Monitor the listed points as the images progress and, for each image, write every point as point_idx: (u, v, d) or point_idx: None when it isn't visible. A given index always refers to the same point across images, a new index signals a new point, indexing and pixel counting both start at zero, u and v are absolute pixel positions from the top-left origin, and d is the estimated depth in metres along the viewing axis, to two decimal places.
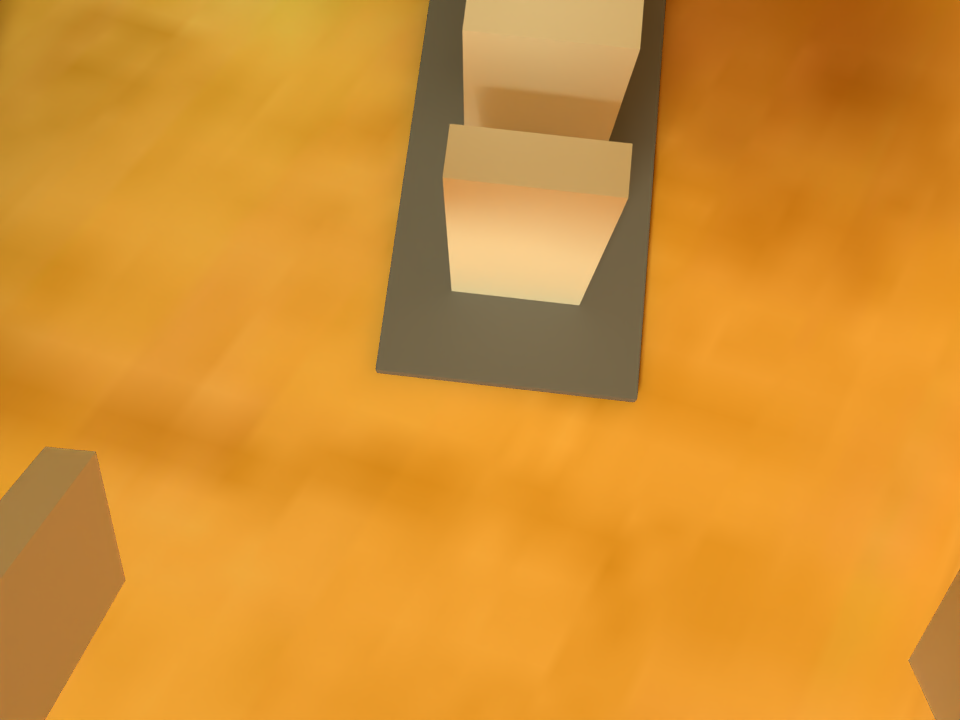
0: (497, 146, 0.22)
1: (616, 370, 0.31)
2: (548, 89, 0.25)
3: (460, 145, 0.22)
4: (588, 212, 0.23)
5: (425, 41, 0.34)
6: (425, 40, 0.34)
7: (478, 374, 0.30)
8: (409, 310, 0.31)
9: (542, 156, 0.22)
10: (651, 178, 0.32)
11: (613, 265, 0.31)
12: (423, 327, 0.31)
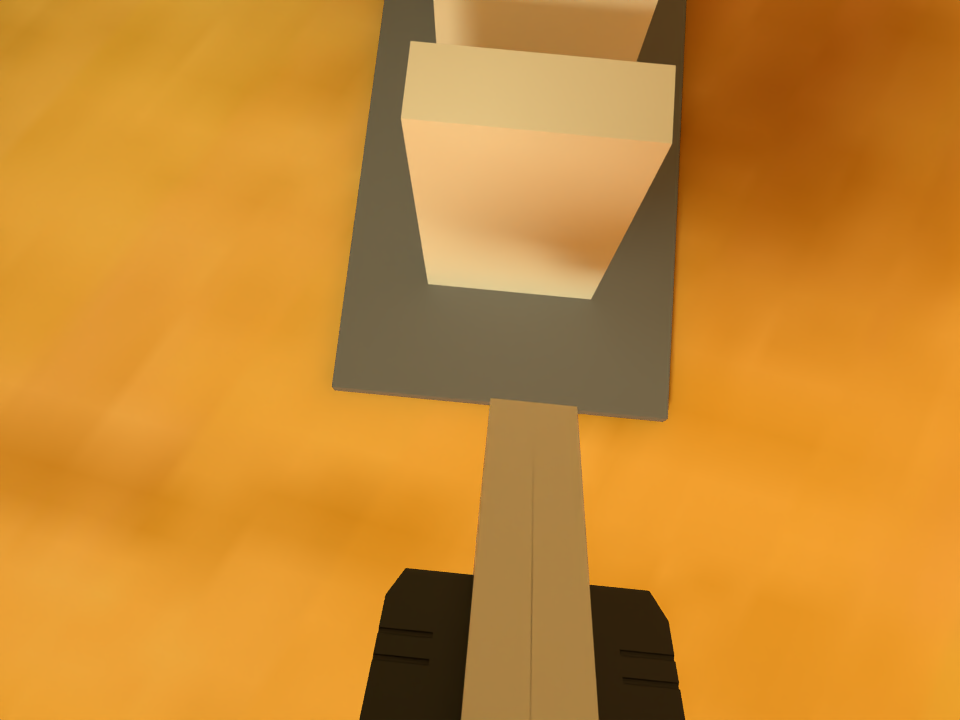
0: (480, 72, 0.15)
1: (640, 382, 0.24)
2: (549, 4, 0.18)
3: (426, 71, 0.15)
4: (611, 168, 0.16)
5: None
6: None
7: (464, 390, 0.24)
8: (374, 309, 0.24)
9: (545, 85, 0.15)
10: (678, 137, 0.26)
11: (633, 247, 0.25)
12: (392, 331, 0.24)
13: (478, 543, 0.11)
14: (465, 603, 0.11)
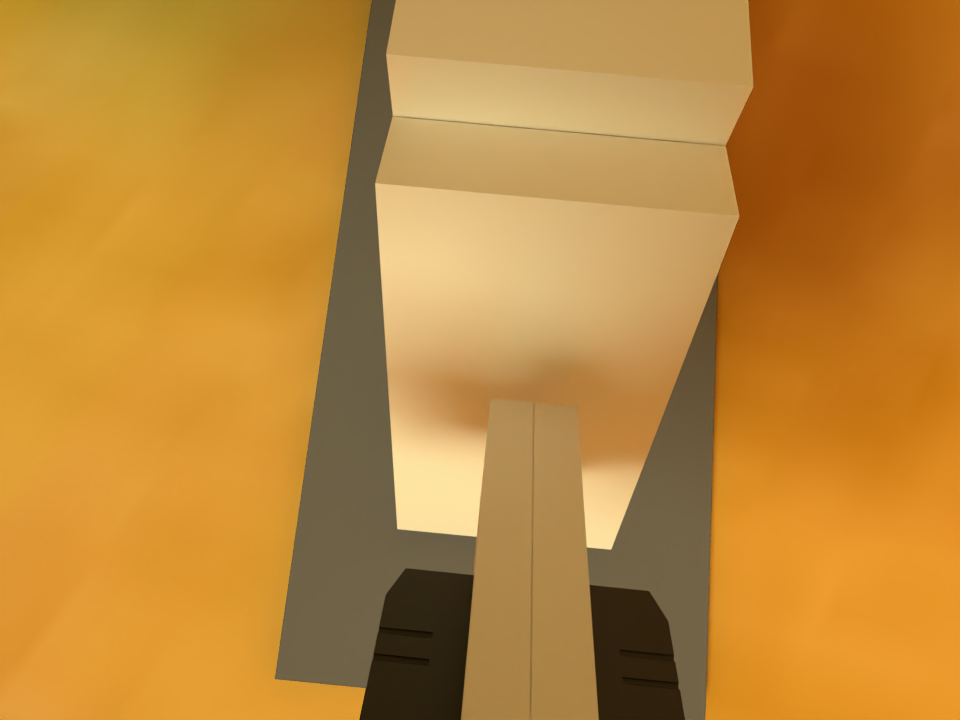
0: (480, 145, 0.12)
1: None
2: None
3: (411, 142, 0.12)
4: (653, 274, 0.12)
5: (356, 126, 0.22)
6: (356, 125, 0.22)
7: None
8: (330, 573, 0.19)
9: (565, 159, 0.12)
10: (713, 340, 0.20)
11: (658, 487, 0.20)
12: (353, 602, 0.19)
13: (478, 543, 0.11)
14: (465, 603, 0.11)
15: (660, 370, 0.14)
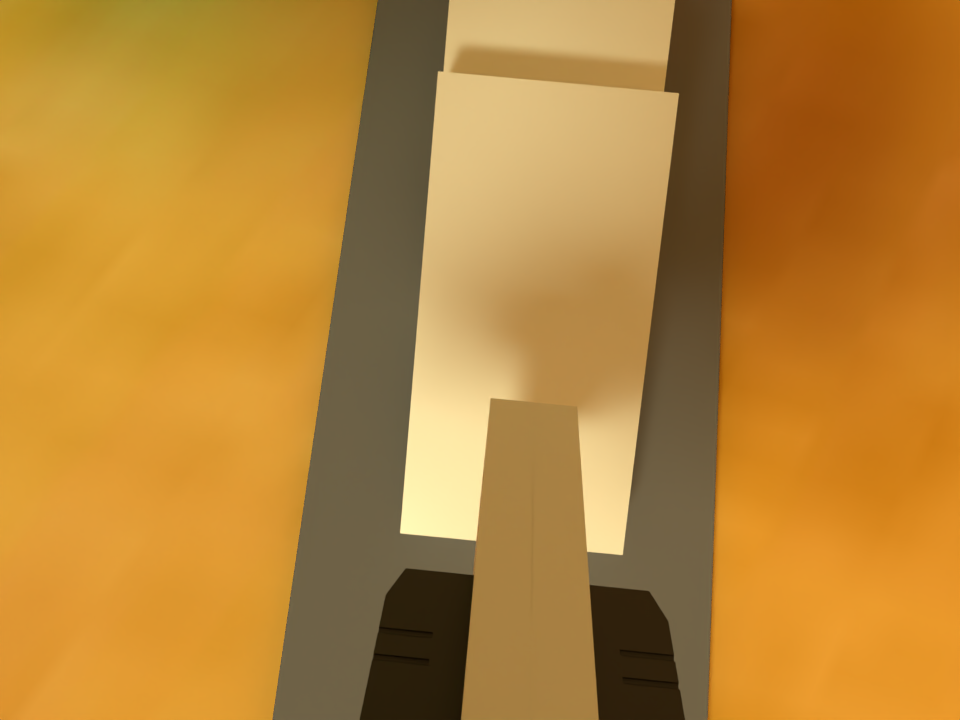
0: None
1: None
2: (567, 7, 0.18)
3: None
4: (628, 149, 0.17)
5: (355, 173, 0.21)
6: (355, 172, 0.21)
7: None
8: (326, 633, 0.19)
9: None
10: (716, 396, 0.20)
11: (659, 547, 0.19)
12: (349, 663, 0.19)
13: (478, 543, 0.11)
14: (465, 603, 0.11)
15: (643, 257, 0.17)
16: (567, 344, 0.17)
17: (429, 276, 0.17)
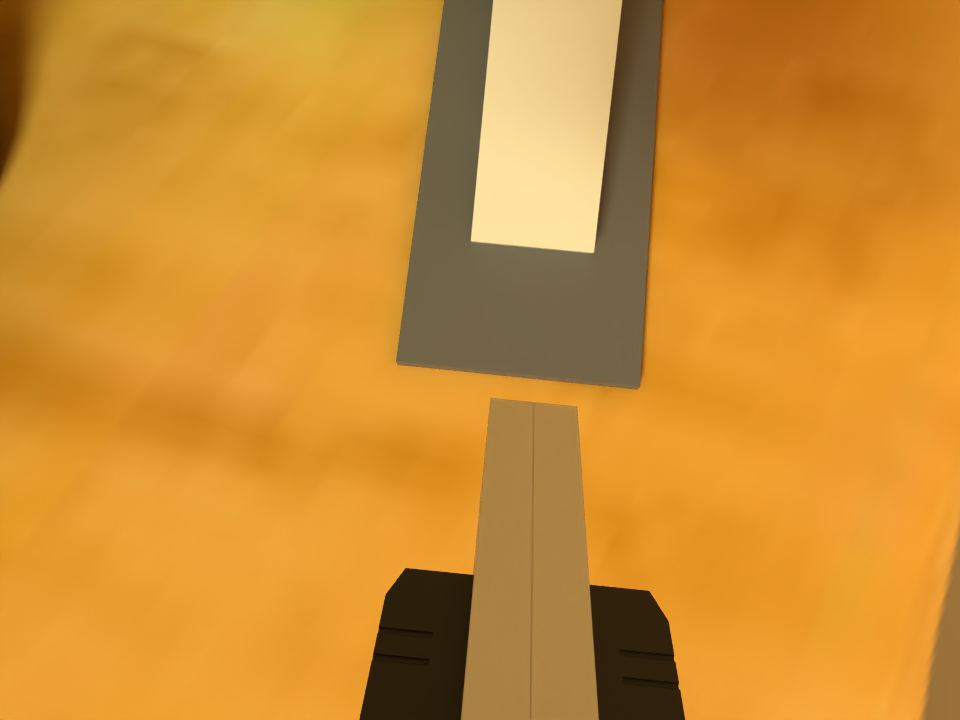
0: None
1: (620, 359, 0.33)
2: None
3: None
4: (595, 24, 0.31)
5: (438, 57, 0.36)
6: (438, 56, 0.36)
7: (492, 364, 0.33)
8: (427, 306, 0.33)
9: None
10: (650, 181, 0.35)
11: (616, 262, 0.34)
12: (440, 321, 0.33)
13: (478, 543, 0.11)
14: (465, 603, 0.11)
15: (604, 83, 0.31)
16: (563, 132, 0.32)
17: (488, 94, 0.32)
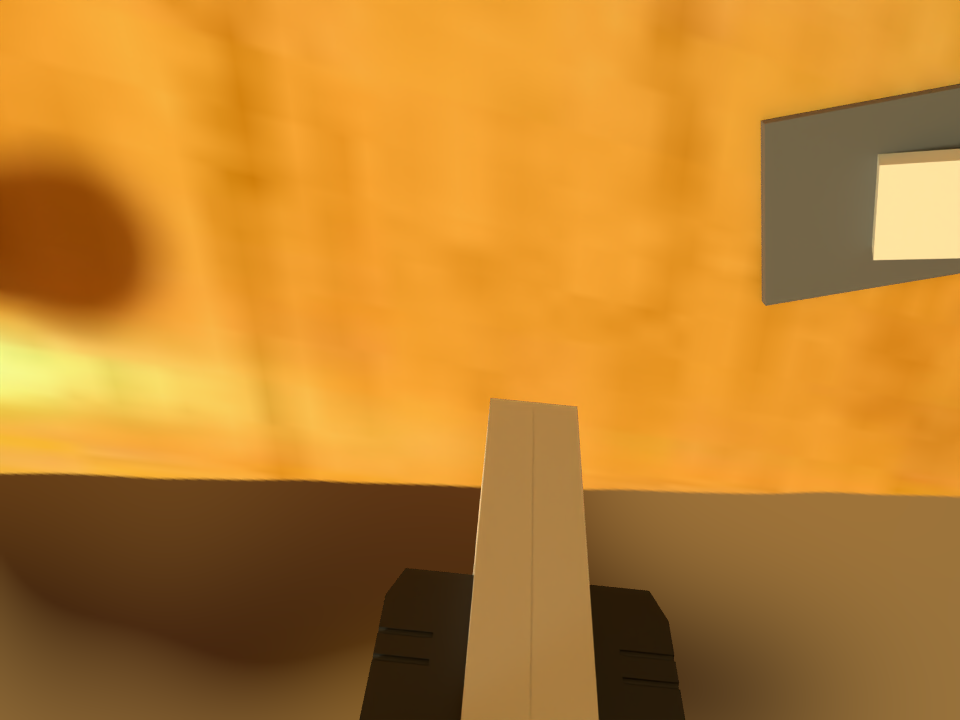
0: None
1: (784, 288, 0.43)
2: None
3: None
4: None
5: None
6: None
7: (770, 199, 0.41)
8: (816, 134, 0.39)
9: None
10: (937, 276, 0.43)
11: (865, 267, 0.43)
12: (803, 149, 0.39)
13: (478, 543, 0.11)
14: (465, 603, 0.11)
15: None
16: None
17: None
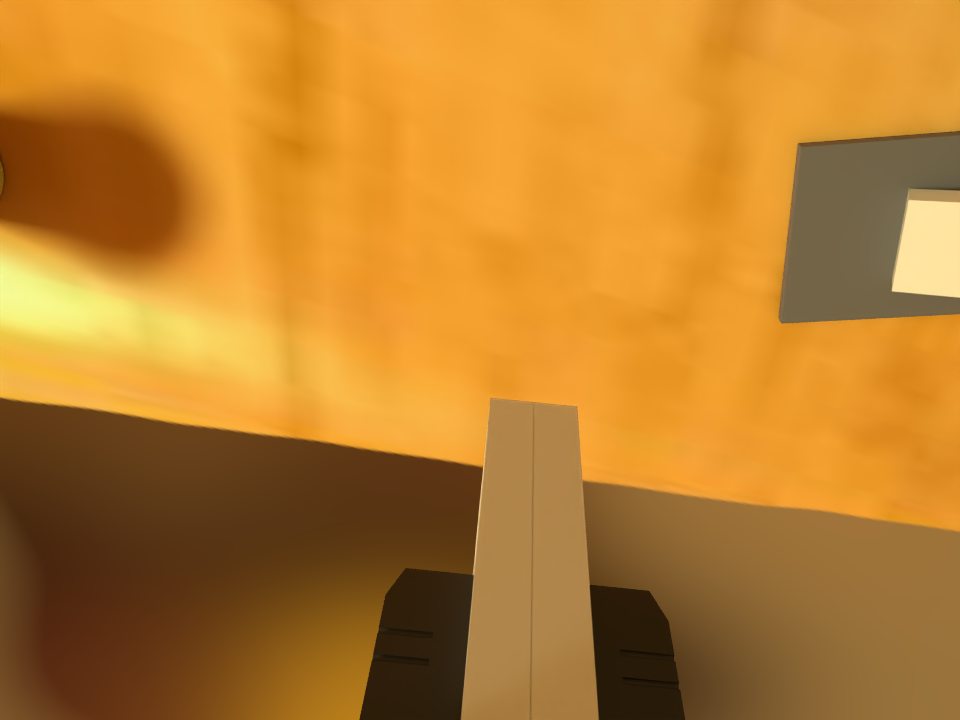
0: None
1: (802, 308, 0.44)
2: None
3: None
4: None
5: None
6: None
7: (798, 221, 0.42)
8: (850, 162, 0.40)
9: None
10: (953, 313, 0.44)
11: (883, 297, 0.43)
12: (836, 175, 0.40)
13: (478, 543, 0.11)
14: (465, 603, 0.11)
15: None
16: None
17: None
